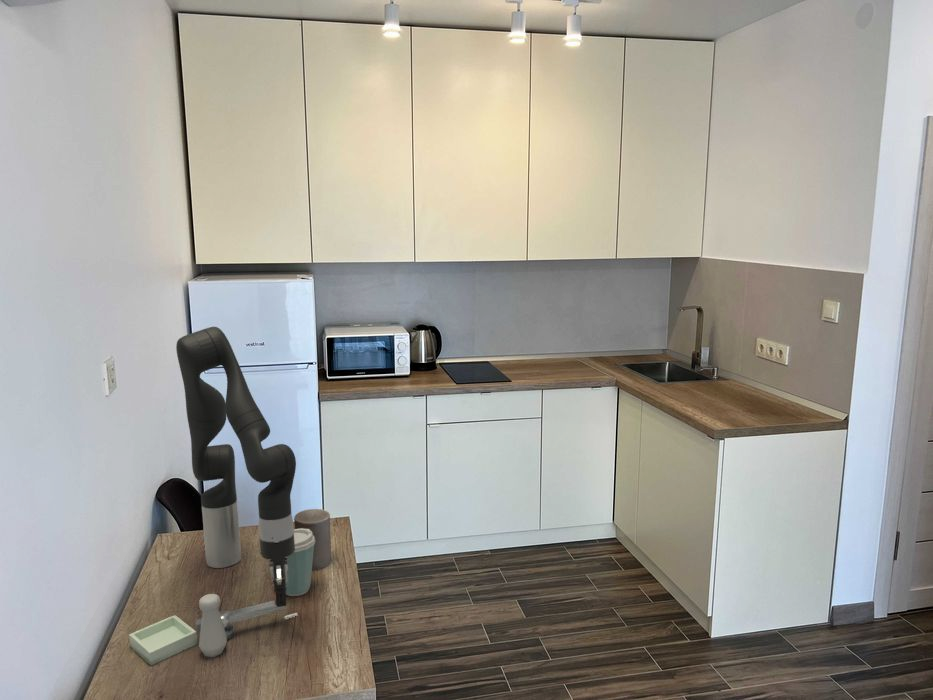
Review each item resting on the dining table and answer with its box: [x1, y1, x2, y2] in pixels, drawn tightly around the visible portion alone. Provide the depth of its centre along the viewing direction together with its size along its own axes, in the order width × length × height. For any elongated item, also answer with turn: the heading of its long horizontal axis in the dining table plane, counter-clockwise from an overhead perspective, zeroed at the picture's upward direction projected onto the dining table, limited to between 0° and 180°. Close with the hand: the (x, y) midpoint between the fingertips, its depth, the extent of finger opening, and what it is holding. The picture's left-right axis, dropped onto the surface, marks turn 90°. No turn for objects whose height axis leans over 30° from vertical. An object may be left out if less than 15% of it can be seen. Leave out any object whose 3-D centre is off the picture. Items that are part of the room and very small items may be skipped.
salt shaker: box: [198, 593, 228, 658], centre depth 152 cm, size 6×6×13 cm
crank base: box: [225, 623, 235, 642], centre depth 159 cm, size 4×4×2 cm
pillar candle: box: [293, 508, 332, 571], centre depth 193 cm, size 10×10×15 cm
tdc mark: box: [283, 612, 299, 620], centre depth 167 cm, size 3×1×1 cm, turn 120°
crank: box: [195, 591, 286, 633], centre depth 160 cm, size 20×4×7 cm, turn 117°
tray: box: [128, 614, 199, 667], centre depth 156 cm, size 10×10×3 cm
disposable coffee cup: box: [285, 528, 315, 597], centre depth 178 cm, size 11×11×15 cm
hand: (281, 604), depth 161 cm, fingers closed
